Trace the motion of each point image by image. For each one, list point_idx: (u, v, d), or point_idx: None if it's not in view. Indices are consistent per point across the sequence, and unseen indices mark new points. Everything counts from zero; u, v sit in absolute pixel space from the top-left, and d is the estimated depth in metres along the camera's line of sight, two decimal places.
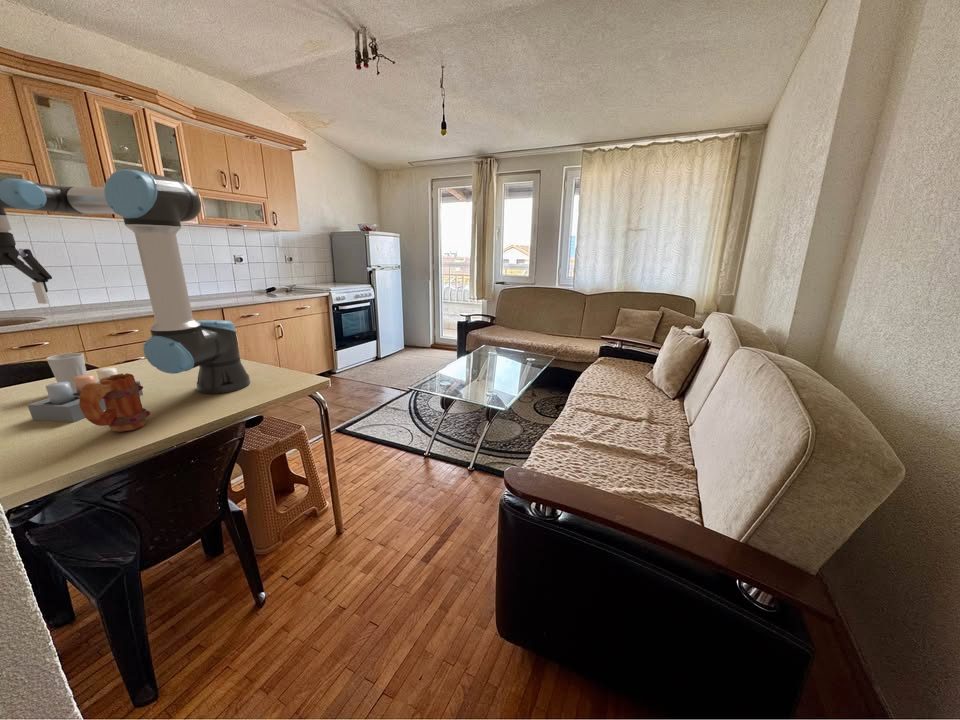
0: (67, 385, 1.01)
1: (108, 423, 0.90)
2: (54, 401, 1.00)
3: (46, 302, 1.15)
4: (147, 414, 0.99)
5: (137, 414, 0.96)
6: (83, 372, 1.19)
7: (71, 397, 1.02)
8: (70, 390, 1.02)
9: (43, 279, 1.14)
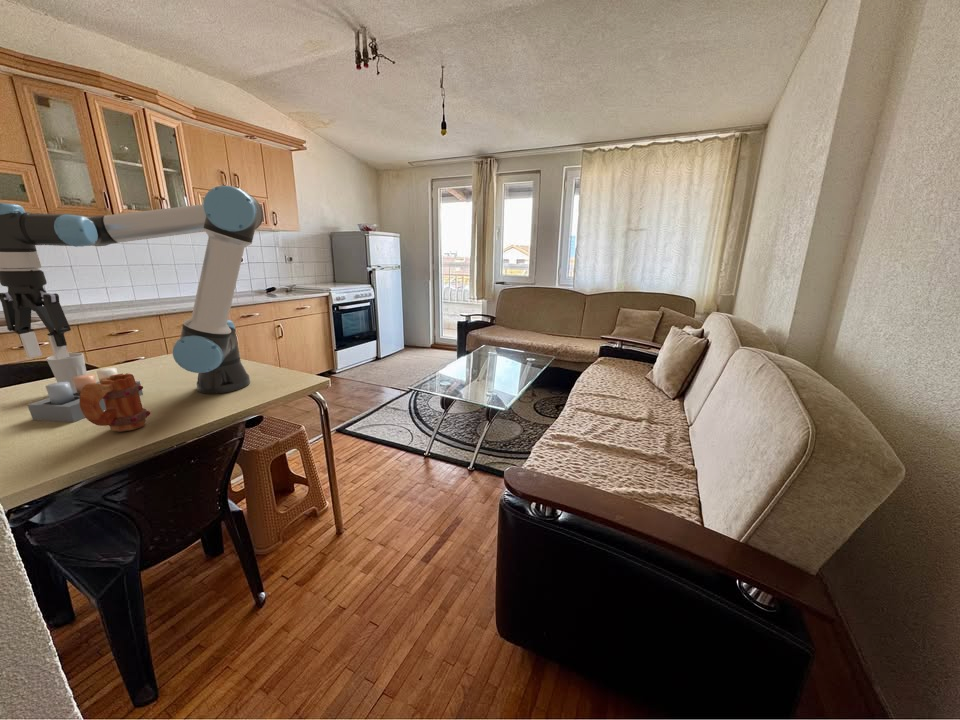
0: (67, 385, 1.01)
1: (108, 423, 0.90)
2: (54, 401, 1.00)
3: (55, 358, 0.97)
4: (147, 414, 0.99)
5: (137, 414, 0.96)
6: (83, 372, 1.19)
7: (71, 397, 1.02)
8: (70, 390, 1.02)
9: (51, 332, 0.95)
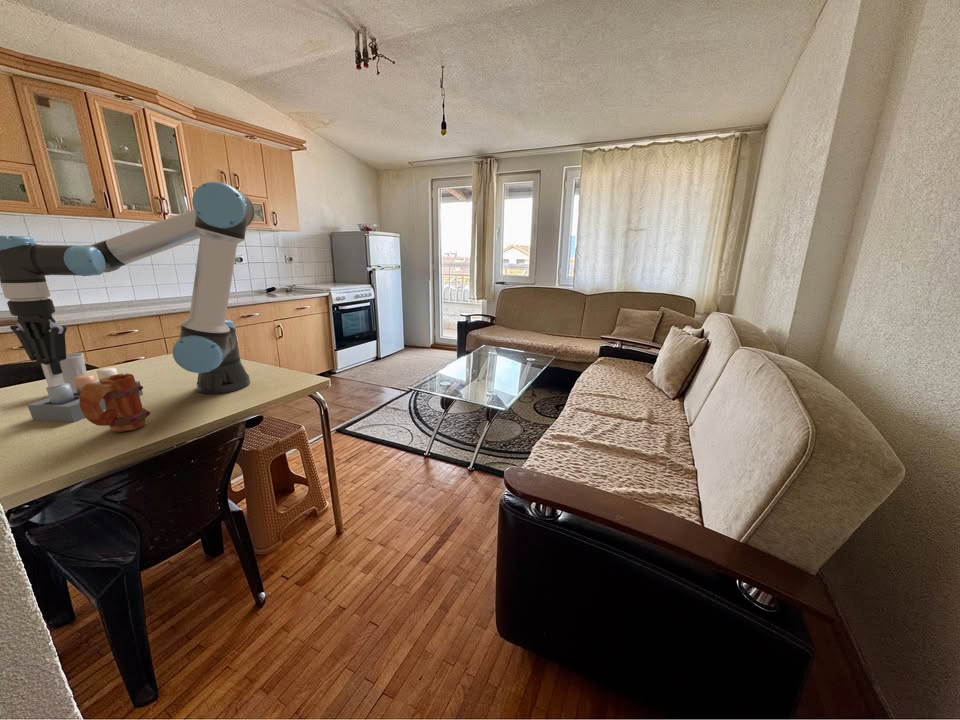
0: (67, 387, 1.02)
1: (108, 423, 0.90)
2: (55, 403, 1.00)
3: (51, 385, 1.00)
4: (147, 414, 0.99)
5: (137, 414, 0.96)
6: (83, 372, 1.19)
7: (71, 399, 1.02)
8: (70, 392, 1.02)
9: (47, 361, 0.98)
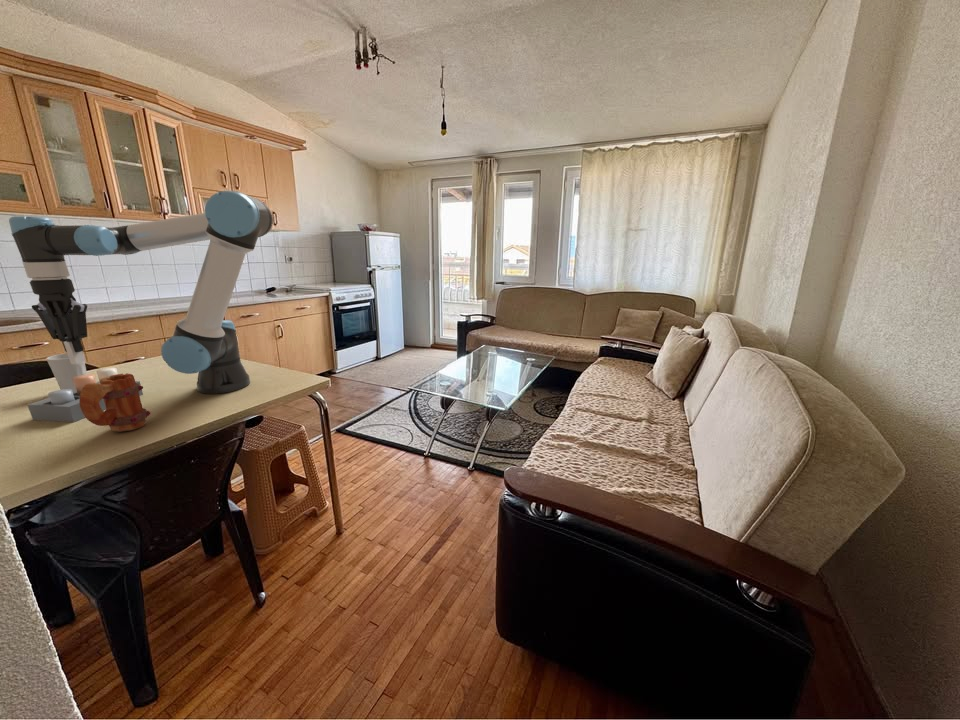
0: (69, 392, 1.02)
1: (108, 423, 0.90)
2: None
3: (74, 363, 1.04)
4: (147, 414, 0.99)
5: (137, 414, 0.96)
6: (83, 372, 1.19)
7: None
8: (72, 397, 1.03)
9: (70, 338, 1.02)
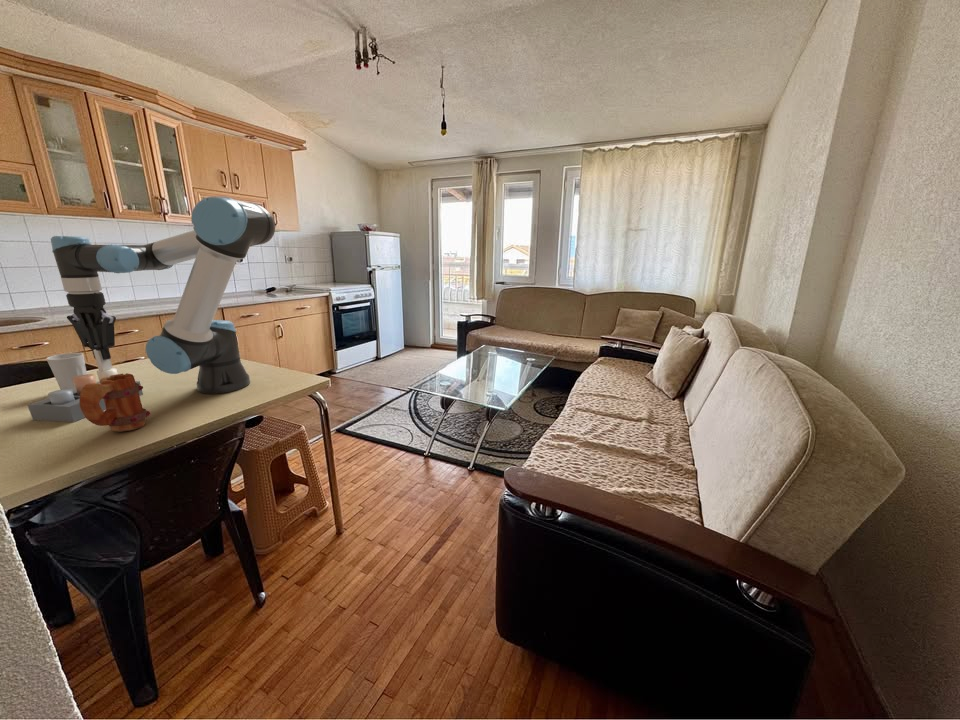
0: (69, 392, 1.02)
1: (108, 423, 0.90)
2: None
3: (101, 369, 1.12)
4: (147, 414, 0.99)
5: (137, 414, 0.96)
6: (83, 372, 1.19)
7: None
8: (72, 397, 1.03)
9: (99, 347, 1.10)
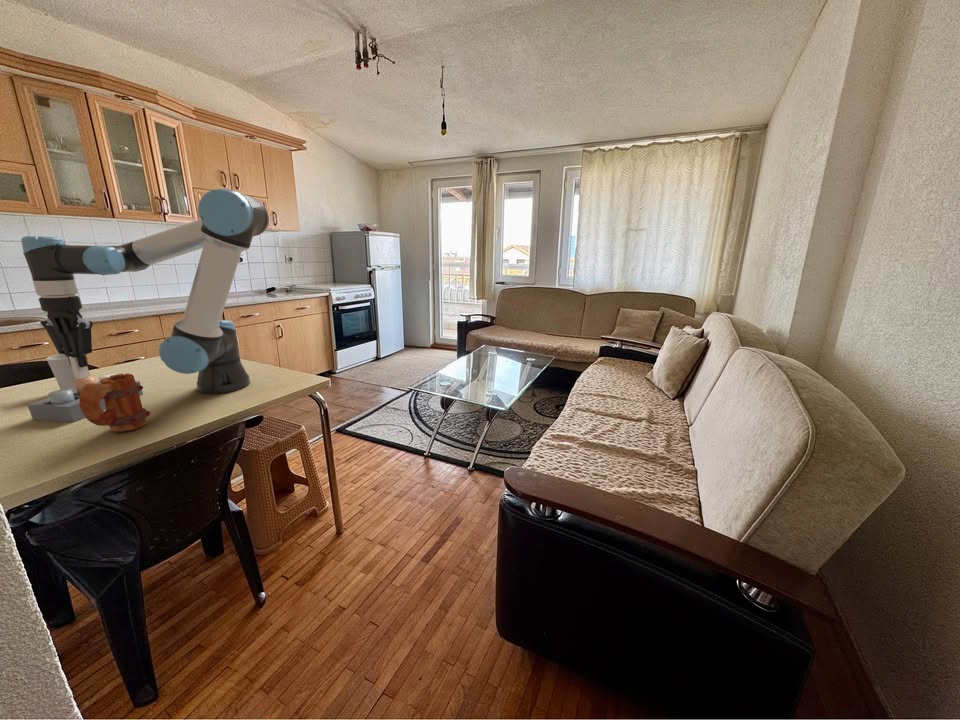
0: (69, 392, 1.02)
1: (108, 423, 0.90)
2: None
3: (78, 377, 1.06)
4: (147, 414, 0.99)
5: (137, 414, 0.96)
6: None
7: None
8: (72, 397, 1.03)
9: (75, 354, 1.04)
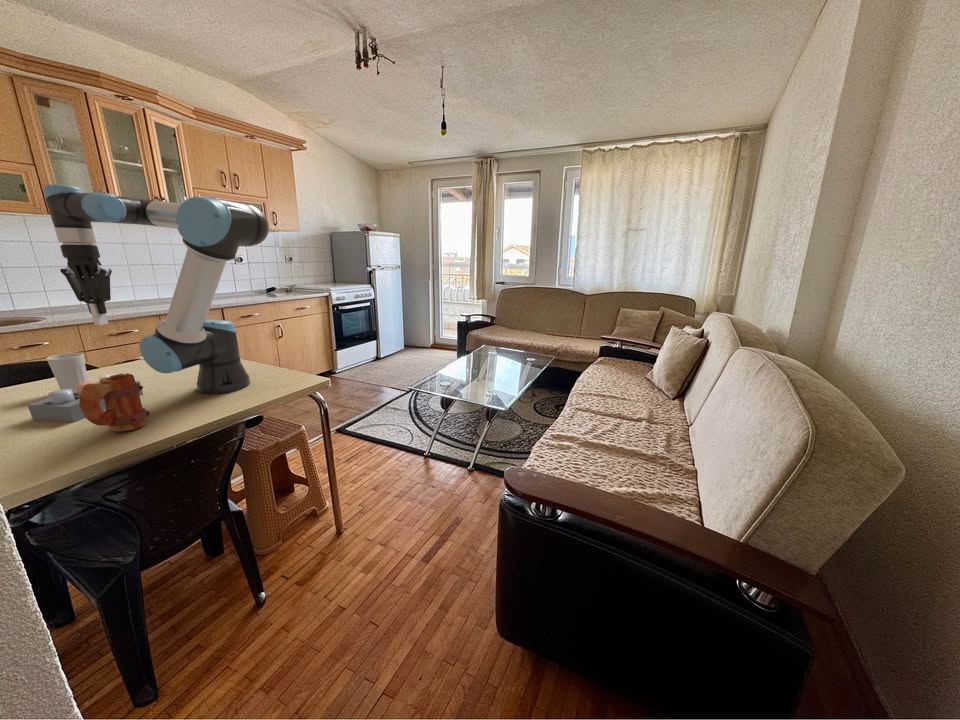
0: (69, 392, 1.02)
1: (108, 423, 0.90)
2: None
3: (97, 324, 1.12)
4: (147, 414, 0.99)
5: (137, 414, 0.96)
6: (83, 372, 1.19)
7: None
8: (72, 397, 1.03)
9: (95, 301, 1.10)
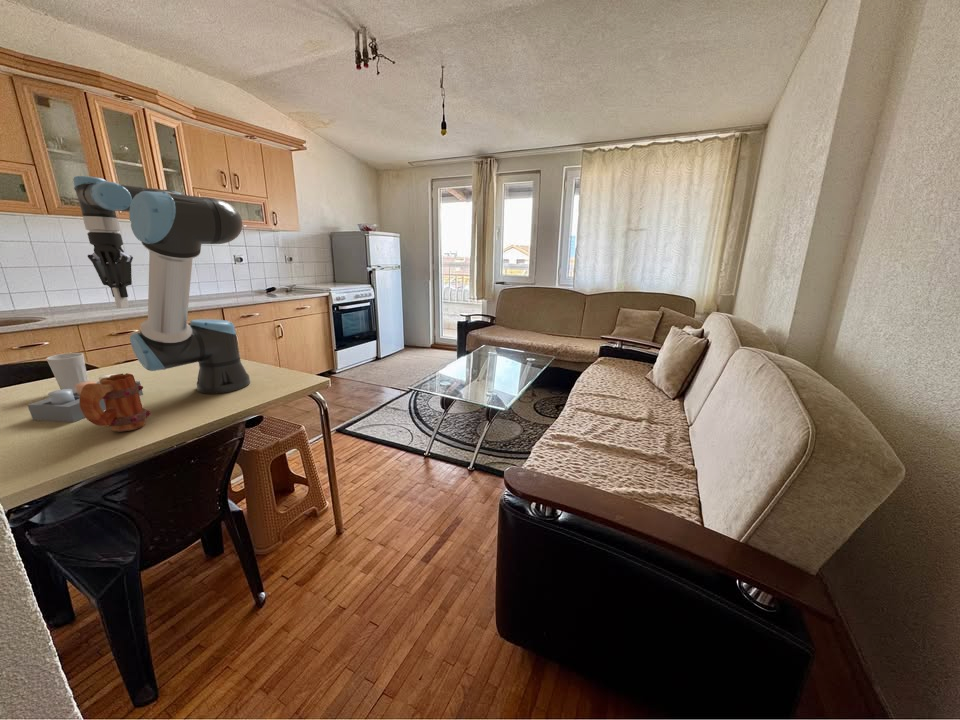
0: (69, 392, 1.02)
1: (108, 423, 0.90)
2: None
3: (119, 306, 1.20)
4: (147, 414, 0.99)
5: (137, 414, 0.96)
6: (83, 372, 1.19)
7: None
8: (72, 397, 1.03)
9: (117, 285, 1.18)
